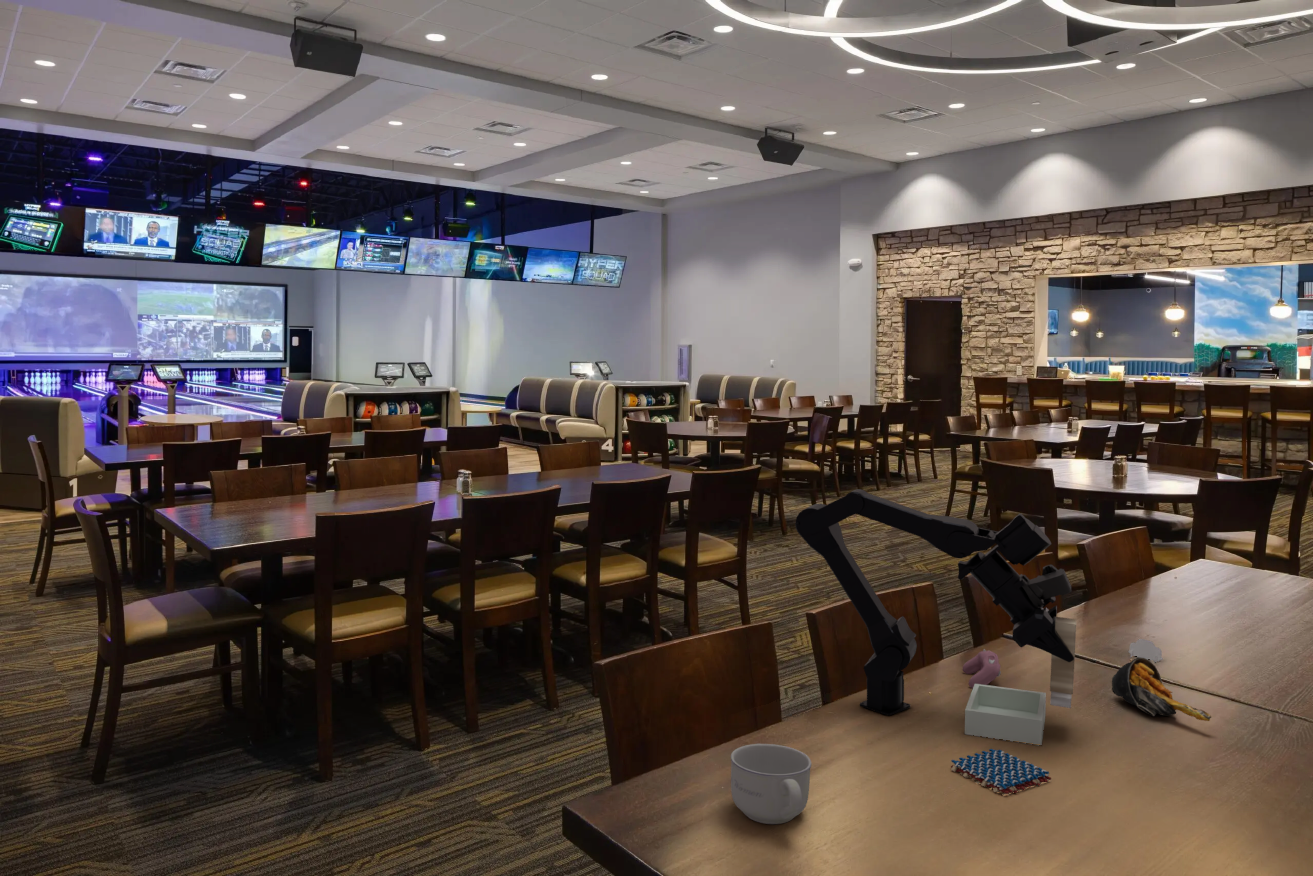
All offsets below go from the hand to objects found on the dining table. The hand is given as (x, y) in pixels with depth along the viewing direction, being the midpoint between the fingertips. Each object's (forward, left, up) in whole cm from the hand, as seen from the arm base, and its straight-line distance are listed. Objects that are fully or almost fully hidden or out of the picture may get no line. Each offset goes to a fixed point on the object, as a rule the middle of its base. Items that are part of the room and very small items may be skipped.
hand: (1072, 657), depth 148 cm
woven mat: (-22, -1, -14) cm, 26 cm away
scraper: (-1, +1, -7) cm, 7 cm away
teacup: (-57, +11, -13) cm, 60 cm away
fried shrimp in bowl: (+20, -5, -13) cm, 24 cm away
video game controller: (+12, +24, -13) cm, 30 cm away
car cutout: (+49, +14, -14) cm, 52 cm away
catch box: (-4, +9, -13) cm, 16 cm away
